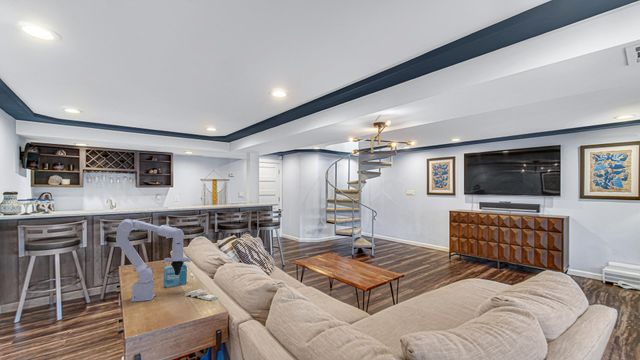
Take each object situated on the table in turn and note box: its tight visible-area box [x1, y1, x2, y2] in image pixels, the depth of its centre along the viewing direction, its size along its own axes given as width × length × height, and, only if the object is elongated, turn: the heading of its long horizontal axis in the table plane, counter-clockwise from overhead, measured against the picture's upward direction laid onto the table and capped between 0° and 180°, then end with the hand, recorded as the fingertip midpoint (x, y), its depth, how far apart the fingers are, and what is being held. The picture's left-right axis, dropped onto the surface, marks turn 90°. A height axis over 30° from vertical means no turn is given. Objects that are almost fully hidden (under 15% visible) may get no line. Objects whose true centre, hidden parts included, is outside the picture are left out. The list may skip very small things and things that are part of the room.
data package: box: [163, 263, 188, 289], centre depth 173 cm, size 12×4×12 cm, turn 133°
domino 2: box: [190, 288, 210, 298], centre depth 154 cm, size 1×4×9 cm
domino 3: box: [196, 293, 217, 301], centre depth 152 cm, size 1×4×9 cm
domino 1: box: [184, 288, 204, 297], centre depth 155 cm, size 1×4×9 cm
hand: (177, 274), depth 160 cm, fingers closed
